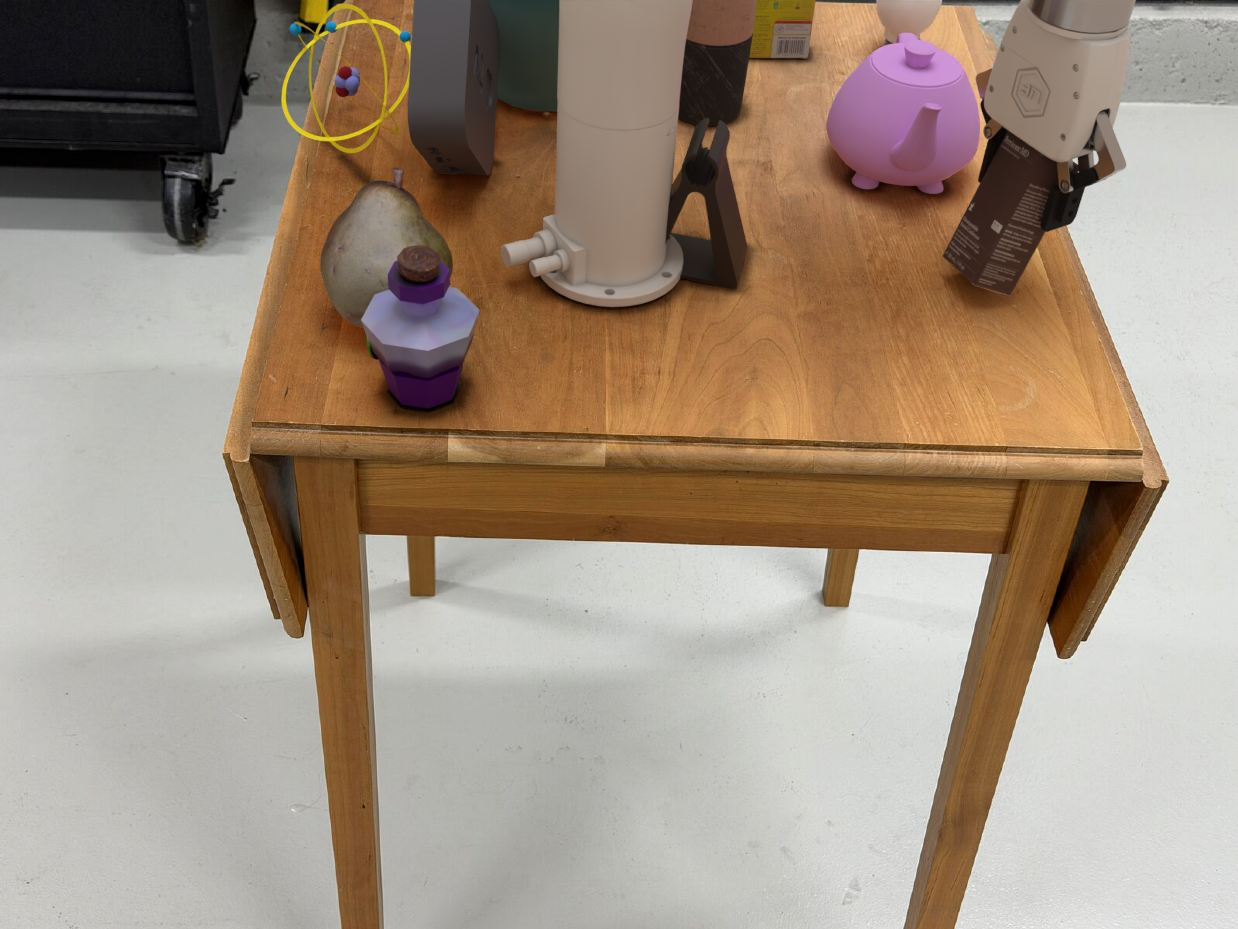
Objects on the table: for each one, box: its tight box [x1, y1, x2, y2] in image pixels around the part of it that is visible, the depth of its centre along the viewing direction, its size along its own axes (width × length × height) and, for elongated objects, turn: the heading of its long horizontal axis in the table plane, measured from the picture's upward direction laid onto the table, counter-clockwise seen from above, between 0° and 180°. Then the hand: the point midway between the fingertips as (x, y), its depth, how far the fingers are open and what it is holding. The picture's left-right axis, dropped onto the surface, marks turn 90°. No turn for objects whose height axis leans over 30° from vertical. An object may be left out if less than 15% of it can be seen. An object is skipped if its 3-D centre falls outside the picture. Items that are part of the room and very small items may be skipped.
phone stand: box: [665, 118, 748, 290], centre depth 117 cm, size 9×6×12 cm, turn 78°
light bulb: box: [875, 0, 943, 46], centre depth 147 cm, size 7×7×11 cm
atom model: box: [280, 3, 412, 154], centre depth 127 cm, size 14×15×14 cm
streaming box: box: [407, 0, 500, 176], centre depth 123 cm, size 14×14×5 cm
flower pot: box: [488, 0, 559, 113], centre depth 136 cm, size 18×18×17 cm
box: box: [942, 130, 1079, 297], centre depth 116 cm, size 6×4×12 cm
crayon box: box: [749, 0, 817, 60], centre depth 145 cm, size 7×3×12 cm, turn 94°
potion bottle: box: [361, 245, 481, 413], centre depth 103 cm, size 9×9×12 cm
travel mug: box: [678, 0, 757, 127], centre depth 133 cm, size 8×8×20 cm
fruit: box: [319, 167, 454, 329], centre depth 109 cm, size 10×9×12 cm
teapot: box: [825, 33, 981, 195], centre depth 129 cm, size 20×14×12 cm
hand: (1024, 201), depth 117 cm, fingers closed on box, 7 cm apart
